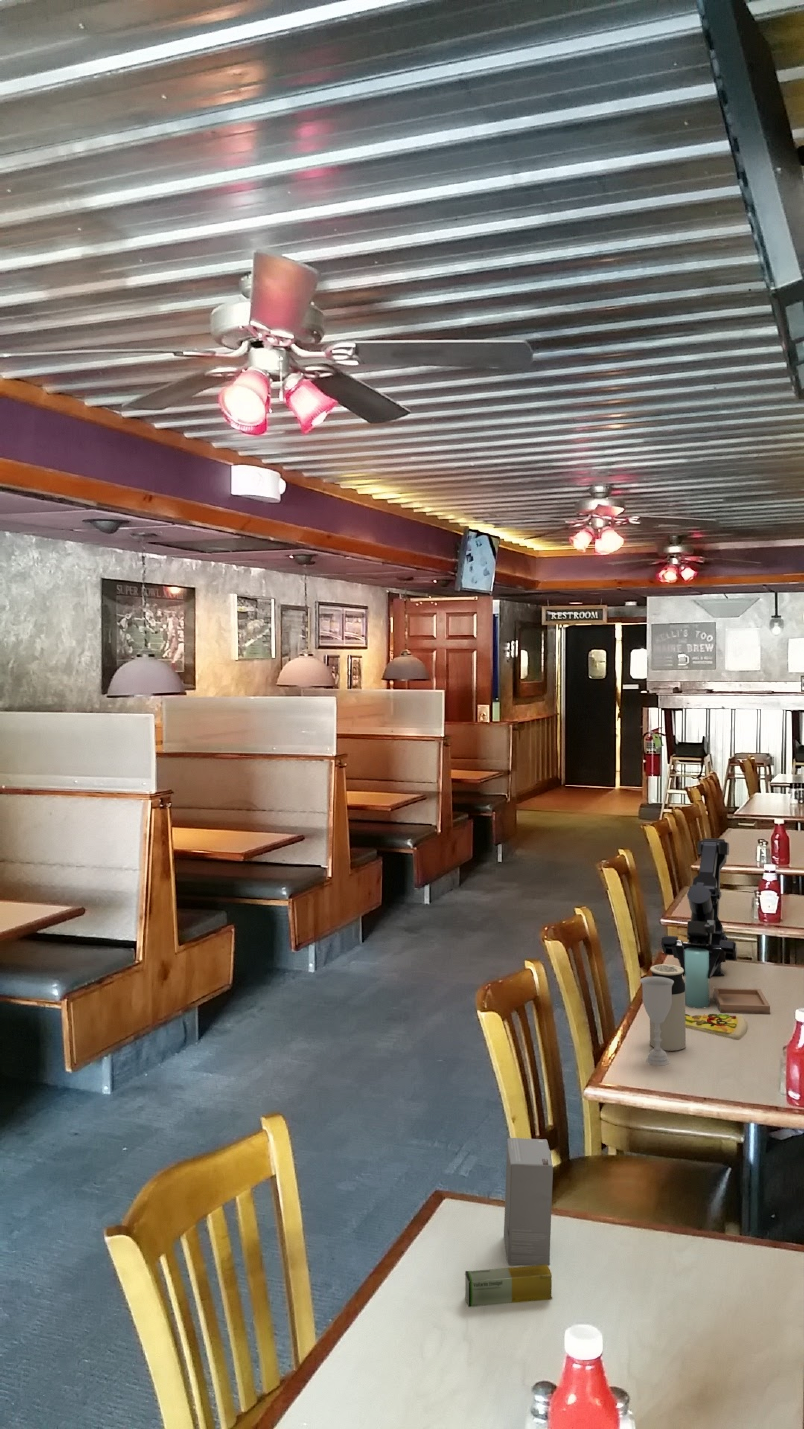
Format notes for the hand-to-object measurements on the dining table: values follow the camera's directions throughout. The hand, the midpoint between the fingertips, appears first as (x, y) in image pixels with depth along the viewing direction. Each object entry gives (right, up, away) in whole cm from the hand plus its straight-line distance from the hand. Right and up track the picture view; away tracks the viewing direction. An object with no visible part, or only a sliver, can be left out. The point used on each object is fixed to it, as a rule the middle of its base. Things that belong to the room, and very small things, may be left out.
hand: (696, 976), depth 270 cm
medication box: (-61, -15, -123) cm, 138 cm away
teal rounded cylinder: (+1, -8, +2) cm, 8 cm away
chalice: (-19, -10, -37) cm, 42 cm away
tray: (+12, -7, +1) cm, 14 cm away
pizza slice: (-2, -9, -14) cm, 17 cm away
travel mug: (-14, -9, -27) cm, 32 cm away
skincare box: (-56, -14, -111) cm, 126 cm away
